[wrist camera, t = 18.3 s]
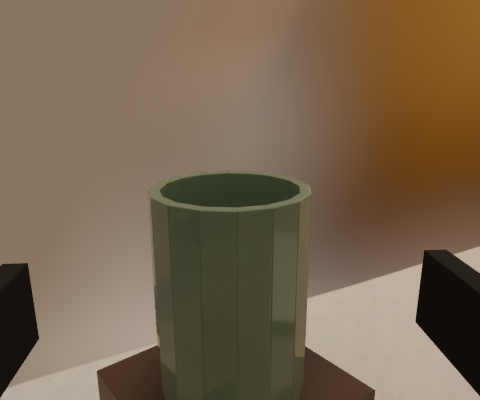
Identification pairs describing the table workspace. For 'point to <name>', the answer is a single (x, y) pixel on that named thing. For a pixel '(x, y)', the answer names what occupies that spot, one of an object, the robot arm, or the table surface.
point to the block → (150, 393)
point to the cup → (230, 284)
